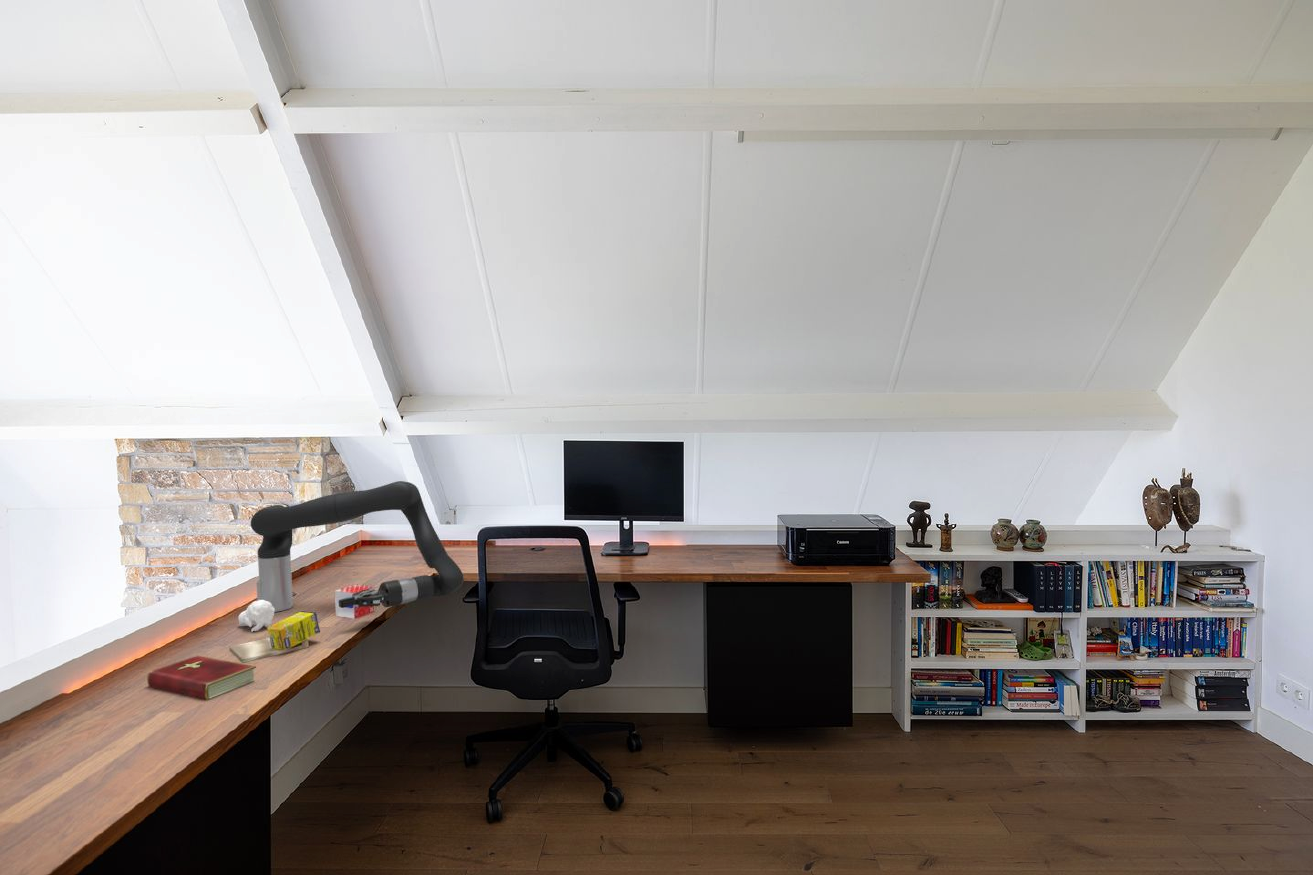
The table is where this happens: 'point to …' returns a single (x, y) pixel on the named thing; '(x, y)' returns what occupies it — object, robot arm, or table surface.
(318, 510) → the robot arm
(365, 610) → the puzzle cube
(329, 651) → the table surface
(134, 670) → the table surface
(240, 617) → the white figurine
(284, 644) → the supplement box
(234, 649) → the board
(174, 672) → the hardcover book
